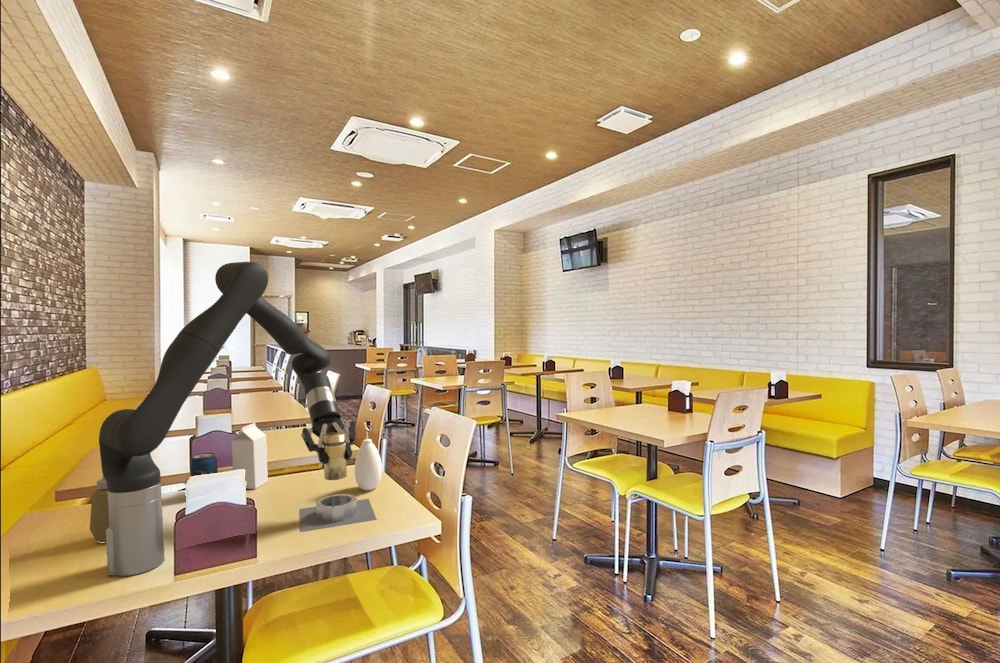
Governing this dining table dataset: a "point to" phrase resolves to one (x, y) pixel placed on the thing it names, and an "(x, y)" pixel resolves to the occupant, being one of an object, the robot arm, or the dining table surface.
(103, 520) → the squeeze bottle
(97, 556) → the dining table surface
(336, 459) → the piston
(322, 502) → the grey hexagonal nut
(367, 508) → the mat
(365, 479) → the sauce bottle
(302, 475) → the dining table surface
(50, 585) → the dining table surface
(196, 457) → the soda can
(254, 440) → the milk carton
